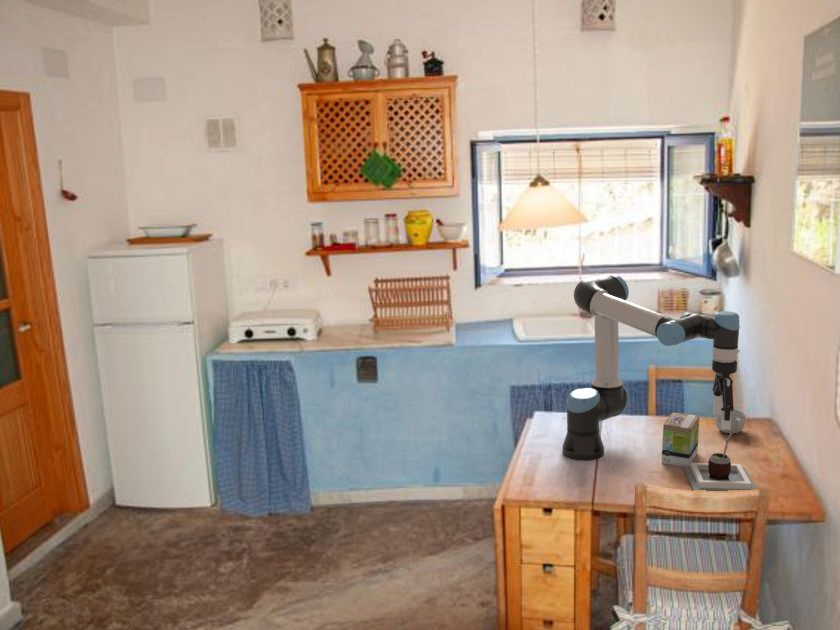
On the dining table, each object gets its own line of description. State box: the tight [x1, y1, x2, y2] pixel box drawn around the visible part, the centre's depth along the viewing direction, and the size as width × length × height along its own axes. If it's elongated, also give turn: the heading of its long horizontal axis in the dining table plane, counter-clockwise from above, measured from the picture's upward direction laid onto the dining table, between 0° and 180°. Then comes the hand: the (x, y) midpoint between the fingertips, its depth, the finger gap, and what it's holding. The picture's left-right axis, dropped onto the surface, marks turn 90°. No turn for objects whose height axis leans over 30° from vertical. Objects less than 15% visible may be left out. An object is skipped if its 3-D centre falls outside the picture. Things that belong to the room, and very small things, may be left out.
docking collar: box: [683, 462, 758, 491], centre depth 262 cm, size 20×20×3 cm
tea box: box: [661, 412, 700, 468], centre depth 281 cm, size 15×10×15 cm, turn 151°
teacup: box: [715, 409, 747, 435], centre depth 304 cm, size 14×11×8 cm
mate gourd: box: [707, 432, 733, 481], centre depth 261 cm, size 8×8×15 cm
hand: (721, 421), depth 258 cm, fingers open, 13 cm apart
